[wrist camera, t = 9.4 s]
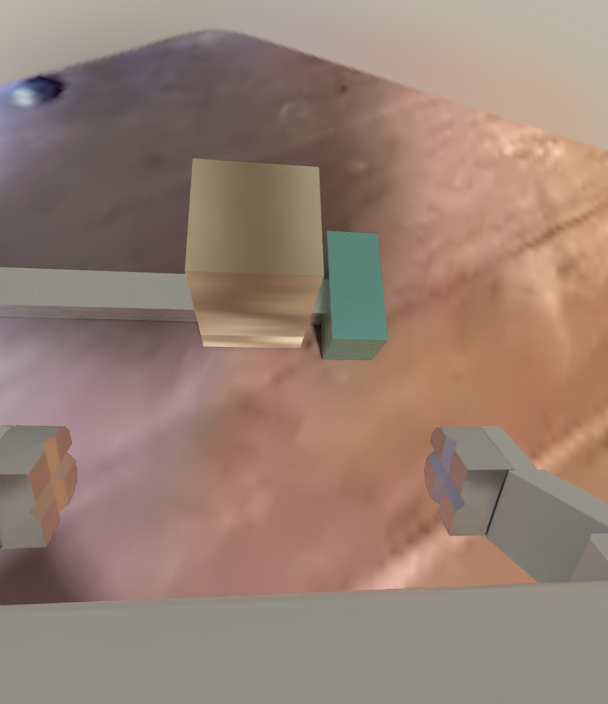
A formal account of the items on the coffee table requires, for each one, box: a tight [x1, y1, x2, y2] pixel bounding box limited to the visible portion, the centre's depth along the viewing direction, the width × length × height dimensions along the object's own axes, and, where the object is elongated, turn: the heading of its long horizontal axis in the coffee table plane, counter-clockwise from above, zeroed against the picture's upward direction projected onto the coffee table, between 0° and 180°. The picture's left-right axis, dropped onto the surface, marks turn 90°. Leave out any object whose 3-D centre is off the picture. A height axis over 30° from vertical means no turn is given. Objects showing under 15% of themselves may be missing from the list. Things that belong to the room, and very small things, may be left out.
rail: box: [0, 231, 388, 360], centre depth 22 cm, size 22×6×3 cm, turn 91°
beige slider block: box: [185, 158, 324, 348], centre depth 21 cm, size 5×5×8 cm
